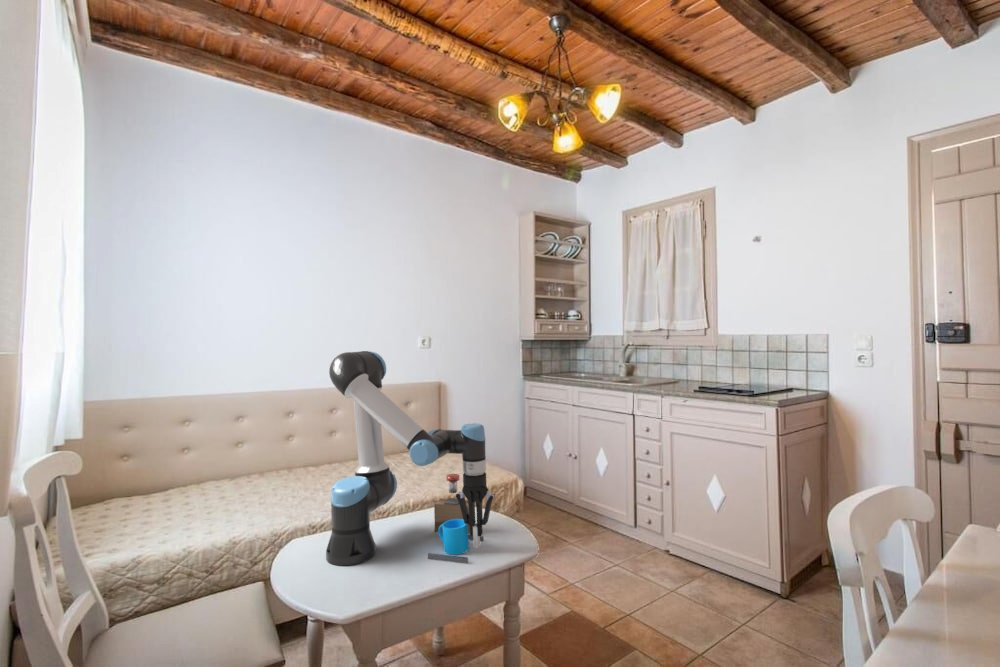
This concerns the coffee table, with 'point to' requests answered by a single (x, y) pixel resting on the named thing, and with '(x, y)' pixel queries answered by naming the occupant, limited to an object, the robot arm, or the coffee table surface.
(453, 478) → the red rounded piece
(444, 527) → the mug
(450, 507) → the end cabinet
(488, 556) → the coffee table surface
